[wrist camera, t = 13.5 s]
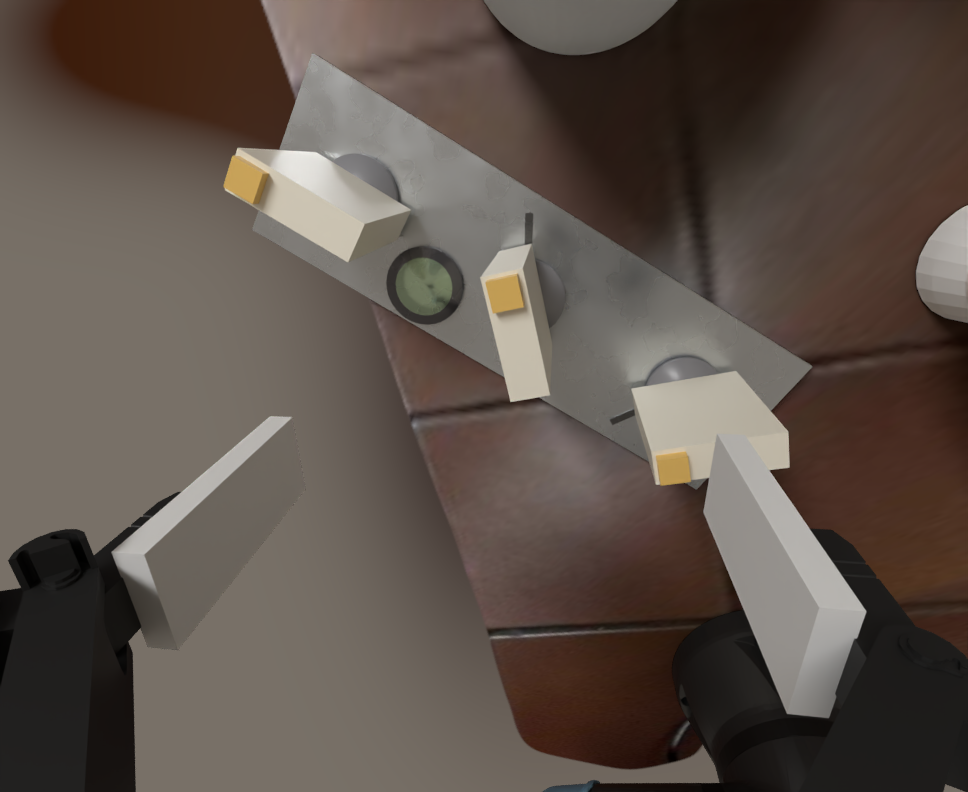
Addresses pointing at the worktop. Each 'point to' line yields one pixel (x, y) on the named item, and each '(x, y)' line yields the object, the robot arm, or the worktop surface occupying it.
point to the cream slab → (322, 197)
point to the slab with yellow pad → (701, 420)
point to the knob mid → (523, 318)
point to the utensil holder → (577, 22)
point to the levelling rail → (504, 225)
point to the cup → (946, 268)
